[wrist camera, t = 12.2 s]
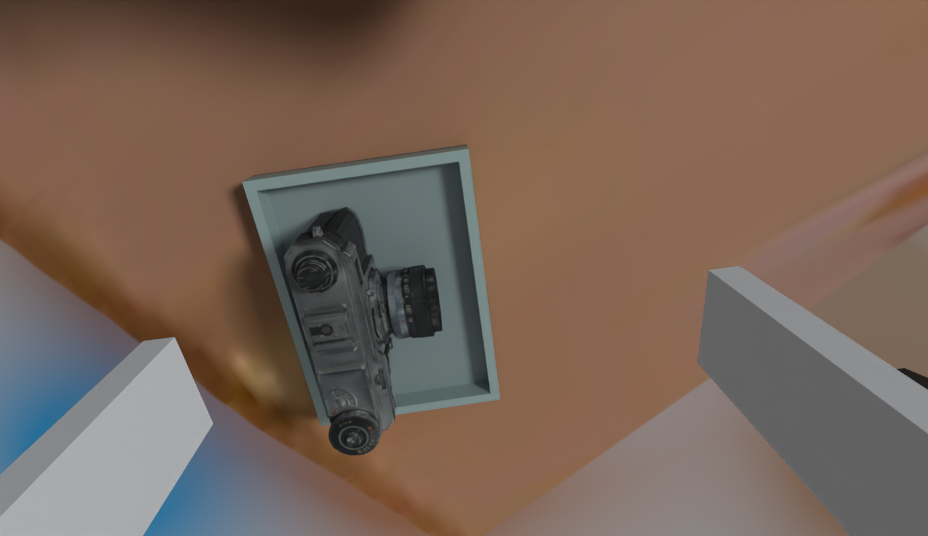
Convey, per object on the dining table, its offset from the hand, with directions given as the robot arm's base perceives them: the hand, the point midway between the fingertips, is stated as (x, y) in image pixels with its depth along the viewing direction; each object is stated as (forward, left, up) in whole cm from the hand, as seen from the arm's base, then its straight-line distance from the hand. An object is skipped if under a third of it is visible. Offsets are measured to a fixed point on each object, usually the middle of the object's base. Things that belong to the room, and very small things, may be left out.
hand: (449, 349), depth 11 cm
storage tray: (+10, -6, -26) cm, 29 cm away
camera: (+10, -6, -26) cm, 28 cm away
